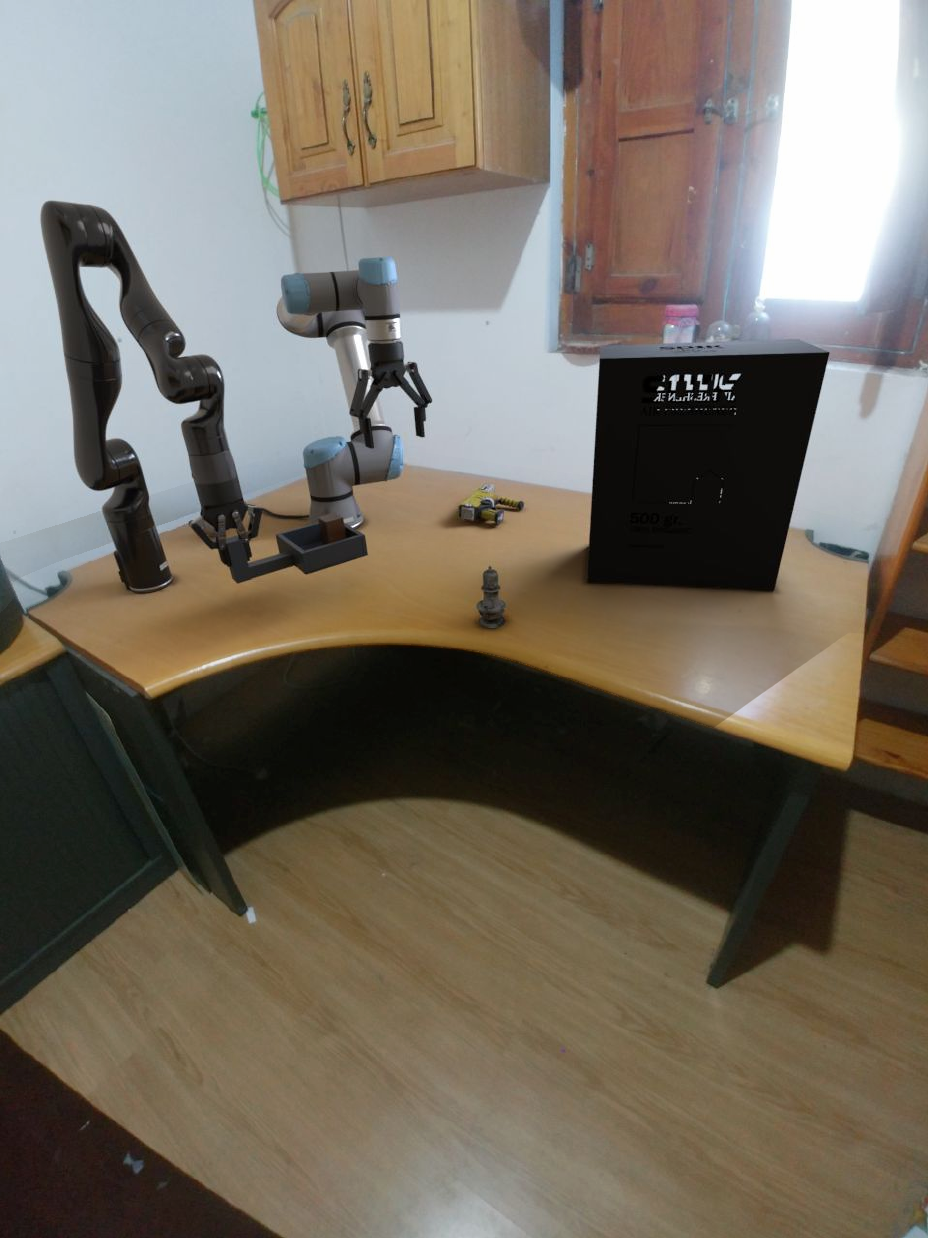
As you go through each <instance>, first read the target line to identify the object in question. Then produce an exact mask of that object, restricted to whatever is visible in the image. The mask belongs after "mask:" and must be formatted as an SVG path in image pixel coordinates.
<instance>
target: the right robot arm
mask: <svg viewBox="0 0 928 1238" xmlns="http://www.w3.org/2000/svg"><path fill="white" fill-rule="evenodd" d="M398 276H399V275H398V273H397V267H396V262H395V260H394V258H393V257H391V256H376V257H375V256H374V257H361V258H360V259H359V260H358V269H355V270H354V269H353V270H340V271H328V272H327V271H325V272H306V273H305V272H302V273H300V272H294V273H291V274H290V273H289V274H284V275H282V276H281V278H280V288H281V295H282V296H281V297H280V298H279V300H278V302H277V306H276V316H277V319H278V321H279V323H280V325H281V326H282V327H283V329H284V330H286V331H287V332H288V333H291V334H293V335H295V336H299V337H302V338H307V339H318V338H325V339H326V343H327V345H328V346H329V347H330V348H332V349H333V350H334V351H335V357H336V361H337V364H338V368H339V373H340V377H341V381H342V384H343V390H344V394H345V399H346V402H347V406H348V410H349V411H348V414H349V415H350V419H351V423H352V428H353V431H352V432H351V433H350V437H349V439H350V441H347V440H346V438H345V437H343V436H341V435H340V436H328V437H323V438H320V439H317V440H314V441H312V442H310V443H308V444H307V445H306V446H305V447H304V448H303V450H302V457H303V459H302V460H303V467H304V469H305V474H306V475H305V476H306V481H307V486H308V492H309V498H310V507H309V513H308V514H303V515H301V514H299V515H297V514H296V515H294V514H293V515H291V514H290V515H289V514H279V513H275V512H272V511H270V510H268V509H267V508H264V507H261V506H258V505H257V506H258V507H260V508H261V509H262V512H264V513H267V514H268V515H270V516H272V517H276V518H281V519H282V518H283V519H308V524H307V525H310V524H314V523H317V522H318V517H321V516H325V515H328V514H332V513H336V514H338V515H340V516H341V517H343V519H344V523H345V524H347V525H349V526H351V527H352V528H354V529H356V530H357V529H359V528H361V527H362V526H363V525H364V523H365V519H364V514H363V512H362V510H361V508H360V505H359V504H358V501H357V500H356V498H355V495H354V489H353V487H355V486H361V485H367V484H373V483H374V484H376V483H381V482H387V481H391V480H396V479H399V478H400V477H401V475H402V473H403V469H404V447H403V441H402V439H401V436H400V435H399V434H394V433H393V429H392V427H391V426H390V425H388V424H386V423H385V420H384V419H385V418H384V415H383V411H382V406H381V402H380V399H379V395H380V394H381V392H382V391H383V389H386V390H387V389H391V388H399V387H400V389H401V390H403V392H404V393H405V394H406V395H407V396H408V398H409V399H411V401H412V402H413V403H414V405H416V406H414V407H413V416H414V417H413V418H414V427H415V437H419V438H422V439H423V438H426V434H425V422H426V421H427V415H426V414H427V413H426V409H427V408H428V407H429V404H432V403H433V397H432V396H431V394H430V392H429V390H428V389H427V386H426V385H425V382H424V381H423V379H422V377H421V374H420V372H419V367H418V362H415V361H407V363H405V351H404V342H403V341H402V340H401V339H402V338H403V331H402V321H401V309H400V299H399V286H398V278H399V277H398ZM367 342H369V343H368V345H366V343H367ZM406 373H407V374H408V375H409V377H410V380H411V381H412V384H413V385H414V387H413V386H412V385H411V384H410V383H409V382H410V381H408V379H407V378H406V377H405V374H406ZM414 388H415V389H416V390H415V389H414ZM247 505H251V506H253V505H254V504H251V503H247Z"/></svg>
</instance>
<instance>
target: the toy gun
mask: <svg viewBox="0 0 928 1238" xmlns="http://www.w3.org/2000/svg"><path fill="white" fill-rule="evenodd" d="M495 489H496V486H495V484H493V483H490V485H489V483H488V482H486V483H485V484H483V485H482V486H481V487H480V488H478V489H476V490H475V491H474V492H473V493H472V494H470V495H469V496H468V497H467V498H466V499H465V500H464V501H463V502H462V503H461V504H460V505H458V513H457V517H458V518H459V519H460V520H463V522H469V523H470V521H471V522H478V521H481V520H482V521H483V520H488V521H492V522H494V525H500V524H501V523H502V522H503V521H504V516H505V510H504V509H502V508H501V509H499V510H498V509H497V507H496V506H498V505H500V506H505V507H509V508H513V509H514V508H515V509H517V510H519V511H520V510H523V509H524V508H525V502H524V501H523V500H517V499H513V498H509V497H505V496H500V498H498V496H497V495H496V493H495Z"/></svg>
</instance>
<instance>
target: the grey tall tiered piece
mask: <svg viewBox="0 0 928 1238" xmlns="http://www.w3.org/2000/svg"><path fill="white" fill-rule="evenodd" d="M492 568H493V567H492V566H491V565H489V566H488V567H487V569H485V570H484V571H483V573H482V583H483V584H482V586H481V588H480V589H481V591H482V599H481V600H479V601H478V602H477V603H476V606H475V607H476V609H477V612H478V614H479V615H480V617H479V619H478V625H480V626H481V627H484V628H488V629H495V628H500V627H502V626H504V625H505V623H506V618H505V617H504V613H505V611H506V608H507V603H506V601H505V600H503V599H501V598H500V590H501V585H500V584H499V573H498V571H497V570H495V569H492Z"/></svg>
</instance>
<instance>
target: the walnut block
mask: <svg viewBox="0 0 928 1238" xmlns="http://www.w3.org/2000/svg"><path fill="white" fill-rule="evenodd" d="M318 522H319V527H320V533H321V538H322V544H323V545H326V544H329V543H333V542H336V541H340V540H343V539H346V532H345V526H344V519H343V517H341V516H340V515H338V514H336V513H332V514H328V515H325V516H321V517H318Z"/></svg>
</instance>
